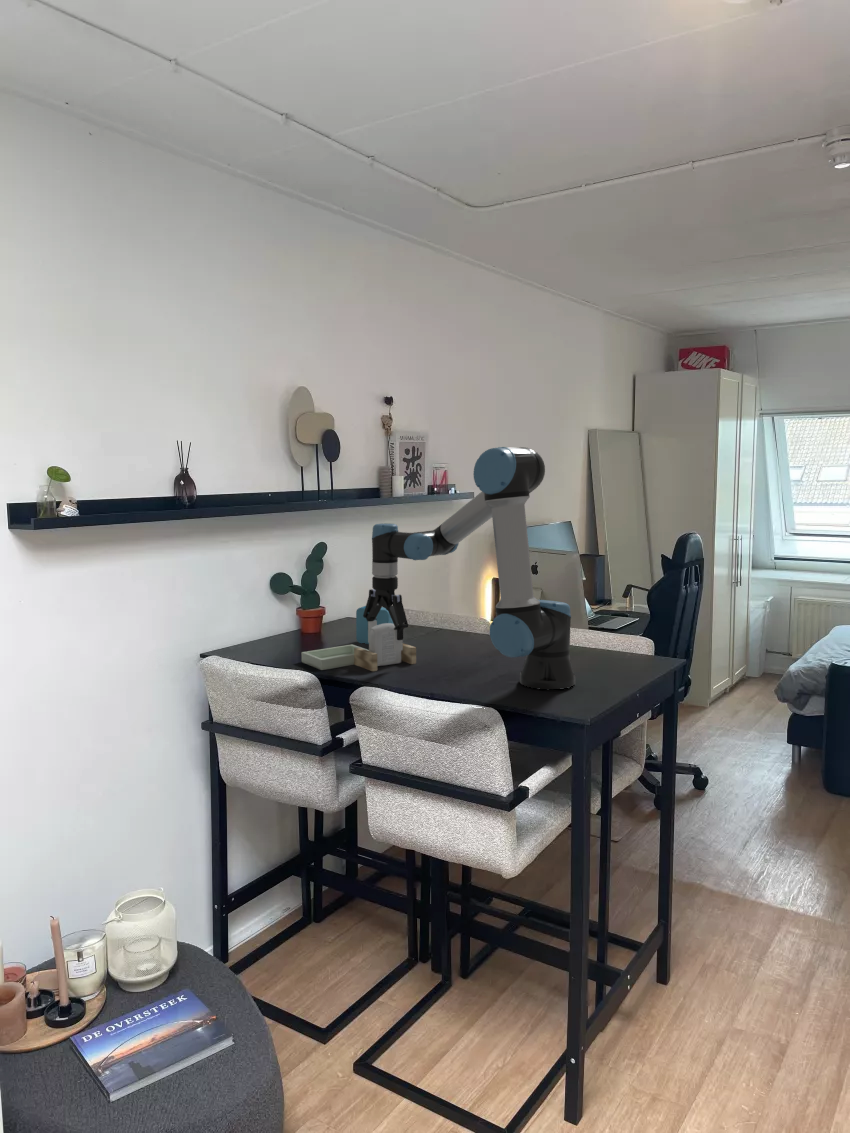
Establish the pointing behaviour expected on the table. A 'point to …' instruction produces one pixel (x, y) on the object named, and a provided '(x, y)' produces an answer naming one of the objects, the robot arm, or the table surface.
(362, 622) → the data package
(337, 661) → the tray
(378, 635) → the grey rounded slab
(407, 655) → the pair of tan blocks
